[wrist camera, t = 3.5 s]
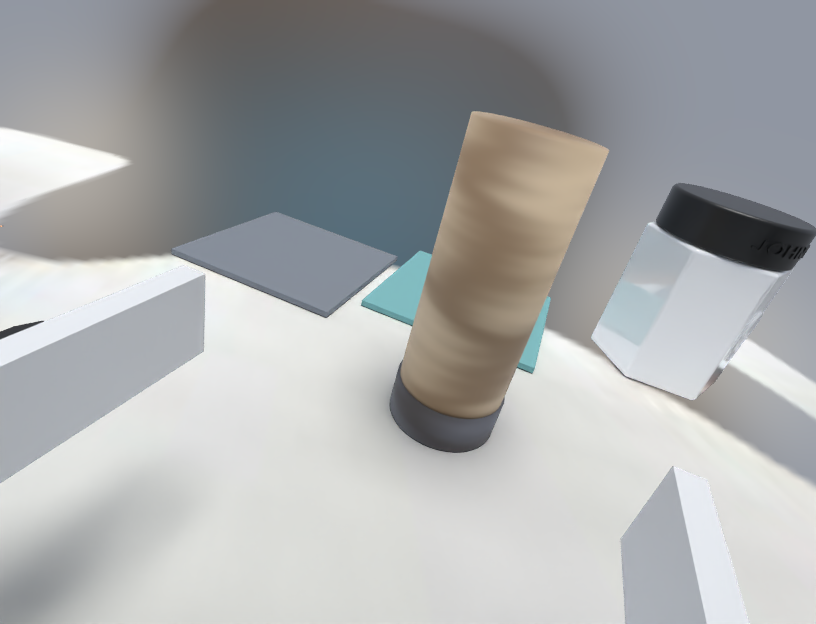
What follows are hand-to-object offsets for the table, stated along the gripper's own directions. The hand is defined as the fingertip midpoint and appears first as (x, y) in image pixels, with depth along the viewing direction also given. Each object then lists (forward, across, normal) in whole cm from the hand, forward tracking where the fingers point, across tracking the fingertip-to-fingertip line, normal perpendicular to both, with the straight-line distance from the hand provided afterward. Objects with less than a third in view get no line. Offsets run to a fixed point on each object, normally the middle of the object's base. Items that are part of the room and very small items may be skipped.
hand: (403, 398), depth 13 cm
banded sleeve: (+9, 0, -8) cm, 12 cm away
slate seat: (+19, -15, -7) cm, 25 cm away
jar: (+24, +12, -8) cm, 28 cm away
